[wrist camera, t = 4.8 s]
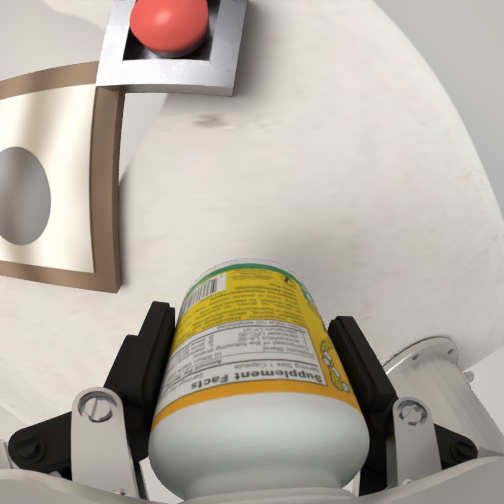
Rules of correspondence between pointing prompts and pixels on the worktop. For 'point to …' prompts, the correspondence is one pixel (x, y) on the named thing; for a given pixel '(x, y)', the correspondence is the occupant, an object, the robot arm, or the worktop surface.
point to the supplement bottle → (255, 395)
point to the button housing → (172, 69)
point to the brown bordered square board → (60, 178)
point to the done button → (170, 25)
